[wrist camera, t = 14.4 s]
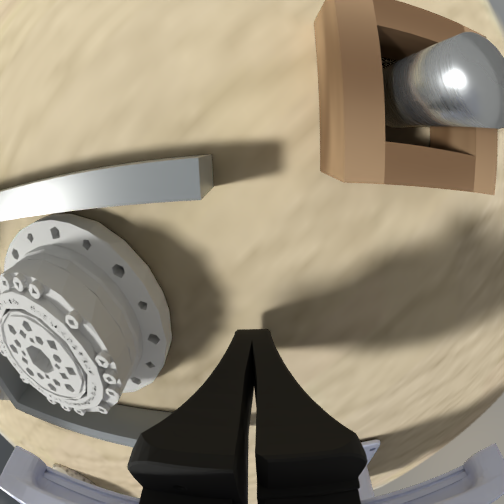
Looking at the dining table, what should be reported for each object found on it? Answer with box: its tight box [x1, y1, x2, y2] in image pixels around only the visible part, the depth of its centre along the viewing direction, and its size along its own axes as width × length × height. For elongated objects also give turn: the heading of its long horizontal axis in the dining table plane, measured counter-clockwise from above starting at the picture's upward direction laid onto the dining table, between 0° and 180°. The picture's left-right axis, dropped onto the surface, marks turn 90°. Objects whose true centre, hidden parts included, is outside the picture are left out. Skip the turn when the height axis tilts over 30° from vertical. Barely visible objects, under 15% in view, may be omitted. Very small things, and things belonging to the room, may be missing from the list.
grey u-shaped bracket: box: [0, 154, 214, 447], centre depth 12 cm, size 15×17×2 cm
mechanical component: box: [0, 214, 172, 415], centre depth 11 cm, size 10×4×10 cm
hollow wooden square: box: [314, 0, 497, 195], centre depth 7 cm, size 6×6×3 cm
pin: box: [382, 32, 504, 129], centre depth 6 cm, size 2×2×6 cm
